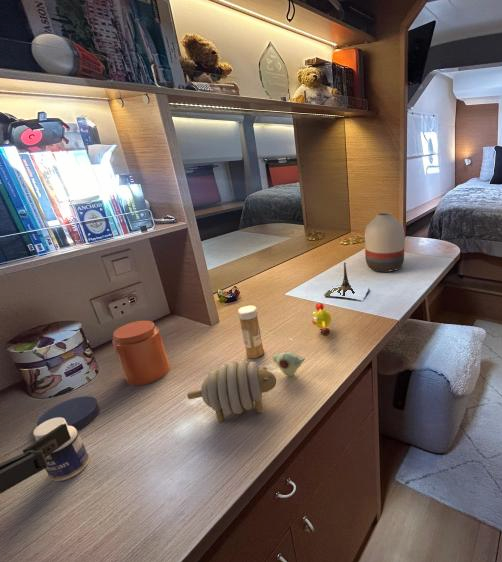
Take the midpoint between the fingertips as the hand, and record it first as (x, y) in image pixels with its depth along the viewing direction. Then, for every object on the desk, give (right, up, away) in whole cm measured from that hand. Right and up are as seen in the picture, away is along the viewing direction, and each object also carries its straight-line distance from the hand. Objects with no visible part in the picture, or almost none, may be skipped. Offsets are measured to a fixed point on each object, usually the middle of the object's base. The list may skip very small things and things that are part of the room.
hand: (23, 439), depth 55 cm
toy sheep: (+28, -2, +17) cm, 33 cm away
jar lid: (-6, -2, +15) cm, 16 cm away
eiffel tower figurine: (+47, +21, +70) cm, 87 cm away
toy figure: (+41, +11, +46) cm, 63 cm away
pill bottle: (+4, -7, +5) cm, 9 cm away
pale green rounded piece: (+36, +3, +27) cm, 45 cm away
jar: (+1, +3, +29) cm, 29 cm away
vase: (+61, +32, +95) cm, 117 cm away
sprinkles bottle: (+25, +6, +36) cm, 44 cm away
